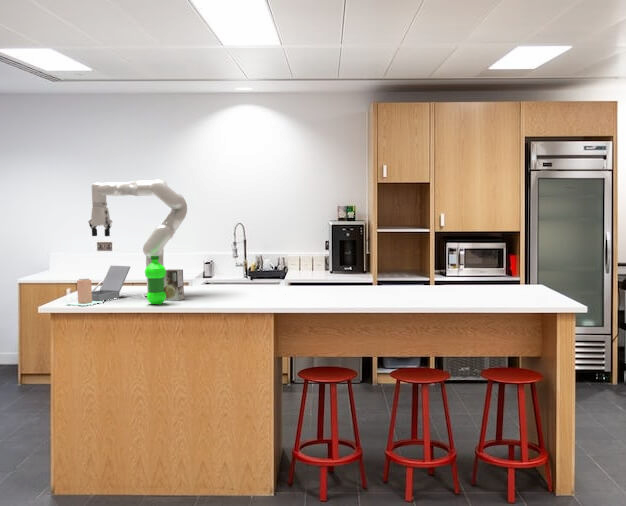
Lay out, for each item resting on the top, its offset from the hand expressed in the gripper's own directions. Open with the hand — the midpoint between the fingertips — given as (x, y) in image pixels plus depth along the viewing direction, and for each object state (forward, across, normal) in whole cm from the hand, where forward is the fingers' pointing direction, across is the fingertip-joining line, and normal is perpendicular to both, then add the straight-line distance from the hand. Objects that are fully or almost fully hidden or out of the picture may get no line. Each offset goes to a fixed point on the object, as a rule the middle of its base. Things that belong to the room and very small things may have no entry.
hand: (100, 236), depth 398 cm
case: (+34, -4, +3) cm, 35 cm away
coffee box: (+34, -44, -8) cm, 56 cm away
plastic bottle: (+34, -46, +8) cm, 58 cm away
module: (+34, -9, +22) cm, 41 cm away
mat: (+34, -9, +22) cm, 42 cm away
